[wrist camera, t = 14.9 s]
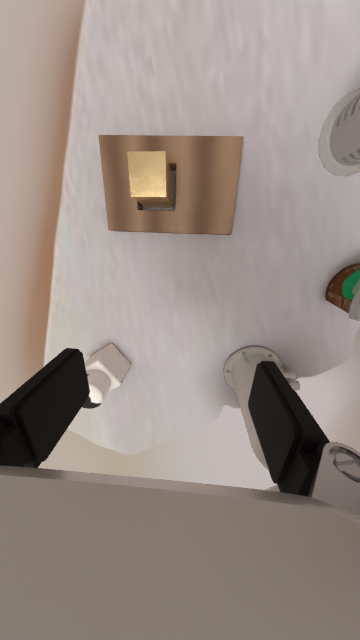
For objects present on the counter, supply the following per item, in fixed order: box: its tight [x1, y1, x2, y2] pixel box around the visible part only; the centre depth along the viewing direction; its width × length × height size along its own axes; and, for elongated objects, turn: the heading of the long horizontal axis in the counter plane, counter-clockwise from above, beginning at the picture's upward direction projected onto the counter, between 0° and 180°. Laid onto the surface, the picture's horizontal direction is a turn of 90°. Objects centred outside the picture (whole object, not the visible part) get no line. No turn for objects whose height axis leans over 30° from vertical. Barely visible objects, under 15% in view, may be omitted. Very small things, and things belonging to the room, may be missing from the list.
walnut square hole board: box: [99, 135, 243, 235], centre depth 29 cm, size 20×12×3 cm, turn 88°
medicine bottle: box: [82, 343, 131, 408], centre depth 39 cm, size 7×7×12 cm
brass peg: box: [127, 151, 173, 209], centre depth 27 cm, size 4×4×9 cm
